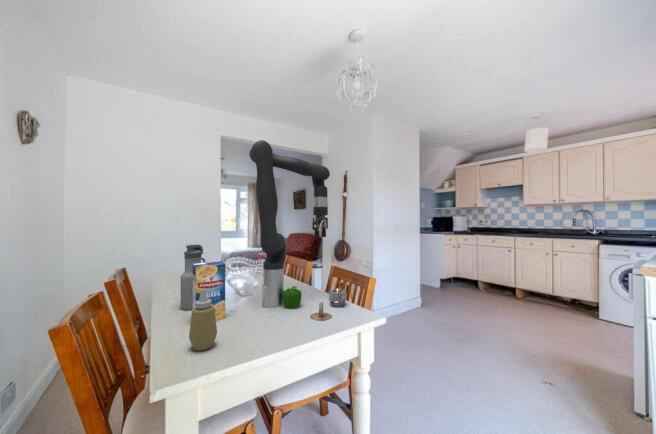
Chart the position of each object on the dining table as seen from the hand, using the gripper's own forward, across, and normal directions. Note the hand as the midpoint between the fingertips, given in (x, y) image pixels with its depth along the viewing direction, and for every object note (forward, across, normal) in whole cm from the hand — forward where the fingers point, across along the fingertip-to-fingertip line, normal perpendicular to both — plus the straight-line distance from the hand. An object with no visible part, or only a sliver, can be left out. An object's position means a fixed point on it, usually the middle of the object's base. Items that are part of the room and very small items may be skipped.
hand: (320, 237), depth 136 cm
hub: (+30, +11, +13) cm, 35 cm away
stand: (+30, +26, +12) cm, 42 cm away
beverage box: (+30, +45, -29) cm, 61 cm away
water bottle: (+30, +37, -47) cm, 67 cm away
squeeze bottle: (+30, +62, -13) cm, 70 cm away
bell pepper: (+30, +20, -5) cm, 37 cm away
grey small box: (+27, +11, +13) cm, 32 cm away
